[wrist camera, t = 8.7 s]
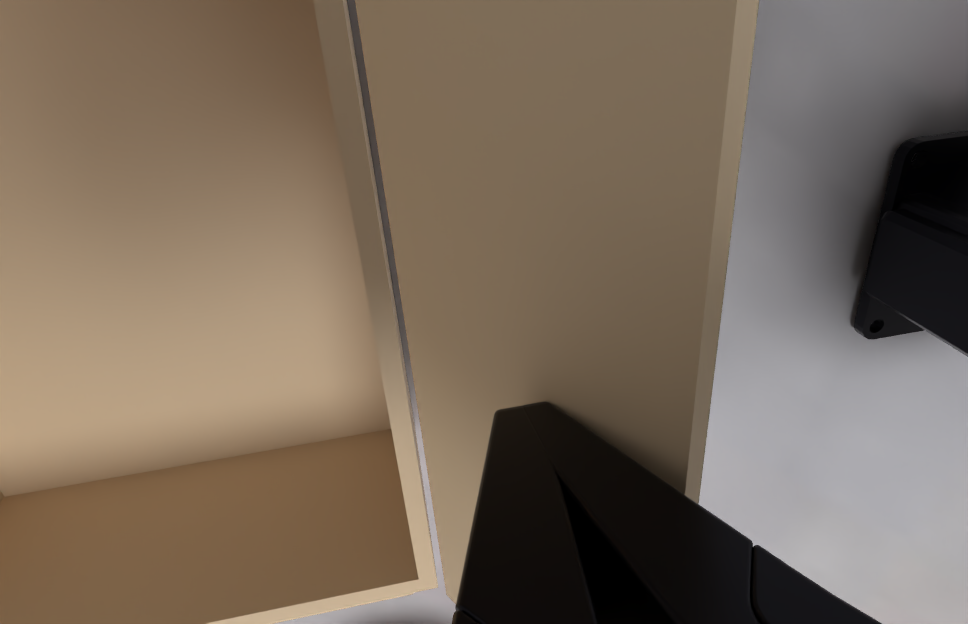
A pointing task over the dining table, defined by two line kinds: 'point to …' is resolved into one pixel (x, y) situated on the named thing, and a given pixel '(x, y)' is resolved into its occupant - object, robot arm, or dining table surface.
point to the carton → (196, 321)
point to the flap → (559, 219)
